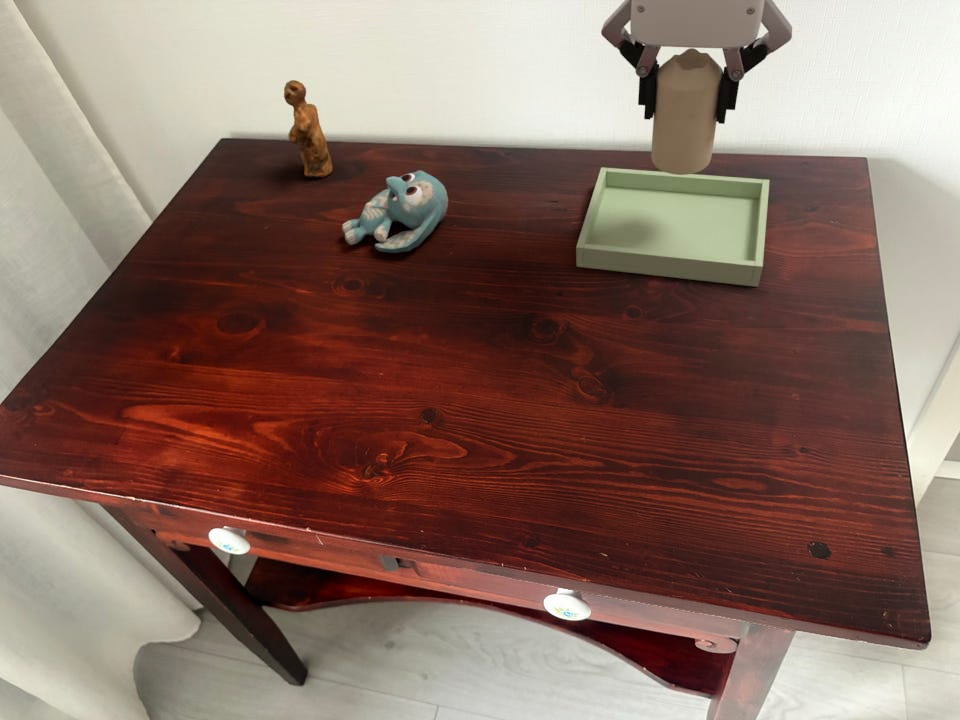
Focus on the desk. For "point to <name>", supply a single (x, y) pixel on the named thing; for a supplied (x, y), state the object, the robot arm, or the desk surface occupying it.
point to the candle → (685, 112)
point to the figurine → (307, 132)
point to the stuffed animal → (401, 212)
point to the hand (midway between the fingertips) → (685, 111)
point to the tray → (676, 226)
